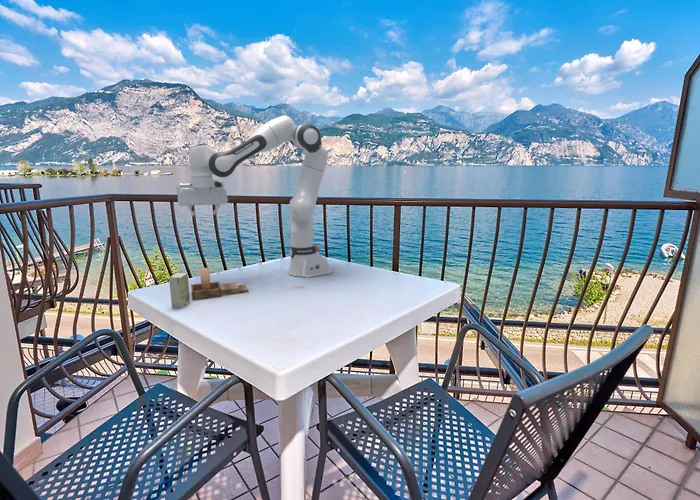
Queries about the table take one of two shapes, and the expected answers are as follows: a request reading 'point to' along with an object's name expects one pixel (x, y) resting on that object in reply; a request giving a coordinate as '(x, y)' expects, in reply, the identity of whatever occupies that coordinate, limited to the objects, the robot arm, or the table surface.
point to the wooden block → (205, 278)
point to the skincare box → (179, 290)
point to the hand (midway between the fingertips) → (204, 215)
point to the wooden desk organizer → (217, 290)
